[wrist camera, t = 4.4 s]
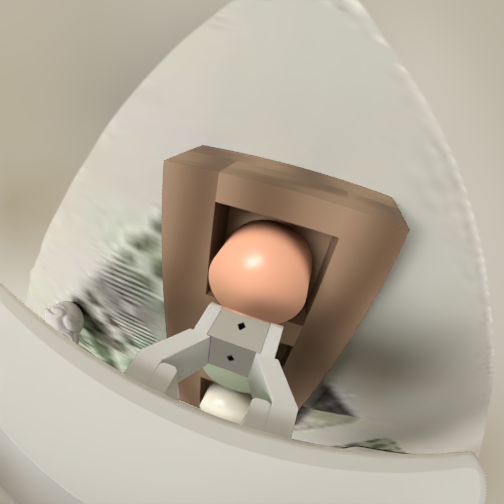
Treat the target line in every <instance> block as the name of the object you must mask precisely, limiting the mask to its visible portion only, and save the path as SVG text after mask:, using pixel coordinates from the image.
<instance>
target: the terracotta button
mask: <svg viewBox="0 0 504 504" xmlns="http://www.w3.org/2000/svg"><path fill="white" fill-rule="evenodd" d="M311 271H312V255H311V251H310V249H309V246H308V245H307V243H306V241H305V240H304V238H303V237H302V236H301V235H300V234H299V233H298V232H297V231H295V230H294V229H293V228H291V227H290V226H288V225H286V224H284V223H281V222H278V221H274V220H266V219H261V220H253V221H250V222H247V223H245V224H243V225H241V226H240V227H238V228H237V229H236V230H235V231H234V232H233V234H232V235H231V236H230V238H229V239H228V240H227V241H226V243H225V244H224V245H223V247H222V248H221V249H220V251H219V252H218V253H217V255H216V256H215V257H214V259H213V261H212V262H211V265H210V268H209V284H210V287H211V290H212V292H213V294H214V296H215V298H216V299H217V300H218V302H219V303H220V304H221V305H222V306H223V307H227V308H229V309H232V310H235V311H237V312H240V313H243V314H245V315H249V316H252V317H255V318H259V319H262V320H265V321H268V322H271V323H274V324H279V323H283V322H285V321H288V320H290V319H292V318H293V317H294V316H296V315H297V314H298V313H299V312H300V311H301V309H302V308H303V306H304V304H305V301H306V298H307V292H308V287H309V282H310V276H311Z"/></svg>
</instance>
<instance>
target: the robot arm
mask: <svg viewBox="0 0 504 504" xmlns="http://www.w3.org/2000/svg"><path fill="white" fill-rule="evenodd" d="M282 332H283V326H281V325H278V324H274V323H271V322H268V321H265V320H262V319H259V318H255V317H252V316H249V315H245V314H243V313H240V312H237V311H235V310H232V309H229V308H227V307H223V306H221V305H218V304H216V303H213V302H211V303H210V304H209V305H208V307H207V309H206V310H205V312H204V313H203V315H202V317H201V318H200V320H199V322H198V323H197V325H196V326H195V328H194V330H193V329H188V330H185V331H183V332H181V333H179V334H176V335H174V336H172V337H169V338H167V339H164V340H162V341H160V342H157V343H155V344H153V345H150V346H148V347H145V348H143V349H141V350H140V351H139V352H138V354H137V355H136V356H135V358H134V359H133V361H132V362H131V363H130V365H129V366H128V368H127V369H126V370H125V372H124V373H122V372H120V371H119V370H117V369H115V368H113V367H112V366H110V365H108V364H107V363H105V362H103V361H102V360H100V359H99V358H97V357H95V356H94V355H92V354H91V353H89V352H88V351H86V350H85V349H83V348H82V347H80V346H79V345H77V344H76V343H74V342H73V341H71V340H70V339H68V338H67V337H66V336H64V335H63V334H62V333H60V332H59V331H57V330H56V329H55V328H53V327H52V326H51V325H50V324H48V323H47V322H46V321H44V320H43V319H42V318H41V317H39V316H38V315H37V314H36V313H35V312H33V311H32V310H31V309H30V308H29V307H27V306H26V305H25V304H24V303H23V302H22V301H21V300H19V299H18V298H17V297H16V296H15V295H14V294H13V293H12V292H11V291H9V289H8V288H6V287H5V286H4V285H3V284H1V283H0V504H485V503H486V492H487V476H486V472H485V470H484V468H483V466H482V464H481V463H480V461H479V459H478V458H477V456H476V455H475V454H474V453H473V452H456V453H440V454H401V453H393V452H387V451H380V450H374V449H369V448H364V447H349V448H344V449H343V448H336V447H330V446H324V445H318V444H313V443H308V442H303V441H299V440H294V439H291V436H292V432H293V428H294V424H295V420H296V416H297V412H298V407H297V405H296V402H295V400H294V397H293V395H292V392H291V390H290V387H289V385H288V382H287V380H286V377H285V375H284V372H283V370H282V367H281V365H280V362H279V360H278V359H275V356H276V353H277V349H278V346H279V342H280V339H281V335H282ZM208 364H211V365H214V366H217V367H220V368H223V369H226V370H229V371H231V372H234V373H236V374H239V375H242V376H245V377H247V379H248V383H249V387H250V391H251V395H252V401H251V403H250V405H249V407H248V410H247V412H246V414H245V416H244V418H243V420H242V422H241V425H240V424H237V423H234V422H231V421H228V420H226V419H223V418H220V417H217V416H215V415H212V414H209V413H207V412H204V411H202V410H199V409H197V408H194V407H192V406H189V405H187V404H185V403H182V402H180V401H179V399H180V398H179V387H178V382H180V381H181V380H183V379H185V378H186V377H188V376H190V375H191V374H193V373H195V372H196V371H198V370H199V369H201V368H203V367H204V366H206V365H208Z"/></svg>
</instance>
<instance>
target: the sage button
mask: <svg viewBox="0 0 504 504" xmlns="http://www.w3.org/2000/svg"><path fill="white" fill-rule="evenodd" d="M277 354H278V352H277V353H276V356H275V359H276V358H277ZM203 369H204V371H205V372H206V373H207V375H208V376H209V377H210V378H211V379H213V380H214V381H215V382H217V383H218V384H220V385H222V386H224V387H226V388H229V389H231V390H234V391H238V392H244V393H251V391H250V387H249V383H248V379H247V377H245V376H242V375H239V374H236V373H234V372H231V371H229V370H226V369H223V368H220V367H217V366H214V365H211V364H208V365H206V366H204V367H203Z"/></svg>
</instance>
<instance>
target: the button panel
mask: <svg viewBox="0 0 504 504" xmlns="http://www.w3.org/2000/svg"><path fill="white" fill-rule="evenodd" d="M261 219H266V220H274V221H278V222H281V223H284V224H286V225H288V226H290V227H291V228H293V229H294V230H295V231H297V232H298V233H299V234H300V235H301V236H302V237H303V238H304V240H305V241H306V243H307V245H308V246H309V249H310V251H311V255H312V271H311V276H310V282H309V287H308V292H307V298H306V301H305V304H304V306H303V308H302V309H301V311H300V312H299V313H298V314H297V315H296V316H294V317H293V318H292V319H290V320H288V321H285V322H283V323H279V324H278V325H281V326H283V332H282V335H281V339H280V342H279V346H278V349H277V352H278V354H277V358H276V359H278V360H279V362H280V365H281V367H282V370H283V372H284V375H285V377H286V380H287V382H288V385H289V387H290V390H291V392H292V395H293V397H294V400H295V402H296V405H297V407H298V410H299V409H300V408H301V406H302V405H303V404H304V403H305V401H306V400H307V399H308V398H309V396H310V395H311V394H312V392H313V391H314V390H315V389H316V387H317V386H318V385H319V383H320V382H321V381H322V379H323V378H324V376H325V375H326V374H327V372H328V371H329V370H330V368H331V367H332V365H333V364H334V362H335V361H336V360H337V358H338V357H339V355H340V354H341V352H342V351H343V349H344V348H345V346H346V345H347V343H348V342H349V340H350V339H351V337H352V335H353V334H354V332H355V331H356V329H357V327H358V326H359V324H360V323H361V321H362V319H363V318H364V316H365V314H366V313H367V311H368V309H369V308H370V306H371V304H372V302H373V301H374V299H375V297H376V295H377V294H378V292H379V290H380V288H381V286H382V284H383V283H384V281H385V279H386V277H387V275H388V273H389V271H390V269H391V267H392V265H393V263H394V261H395V259H396V257H397V255H398V253H399V251H400V249H401V247H402V245H403V243H404V241H405V238H406V236H407V234H408V232H409V228H408V226H407V224H406V222H405V220H404V218H403V216H402V214H401V213H400V211H399V209H398V207H397V205H396V204H395V202H394V200H393V198H392V197H390V196H387V195H384V194H382V193H379V192H376V191H373V190H370V189H367V188H365V187H362V186H359V185H356V184H353V183H350V182H347V181H344V180H340V179H337V178H334V177H331V176H328V175H324V174H321V173H318V172H314V171H311V170H307V169H304V168H300V167H296V166H293V165H289V164H285V163H281V162H277V161H273V160H269V159H265V158H261V157H257V156H253V155H248V154H244V153H239V152H234V151H230V150H225V149H220V148H215V147H209V146H204V145H202V146H200V147H197V148H194V149H192V150H189V151H187V152H184V153H181V154H179V155H176V156H174V157H172V158H169V159H167V160H164V166H163V188H162V271H163V293H164V309H165V322H166V333H167V338H169V337H172V336H174V335H176V334H179V333H181V332H183V331H185V330H188V329H193V330H194V328H195V326H196V325H197V323H198V322H199V320H200V318H201V317H202V315H203V313H204V312H205V310H206V309H207V307H208V305H209V304H210V303H211V302H213V303H216V304H218V305H221V304H220V303H219V302H218V300H217V299H216V298H215V296H214V294H213V292H212V290H211V287H210V284H209V268H210V265H211V262H212V261H213V259H214V257H215V256H216V255H217V253H218V252H219V251H220V249H221V248H222V247H223V245H224V244H225V243H226V241H227V240H228V239H229V238H230V236H231V235H232V234H233V232H234V231H235V230H236V229H237V228H238V227H240V226H241V225H243V224H245V223H247V222H250V221H253V220H261ZM221 306H222V305H221ZM212 381H213V382H215V381H214V380H213V379H211V378H210V377H209V376H208V375H207V373H206V372H205V371H204V369H203V368H201V369H199V370H198V371H196V372H195V373H193V374H191V375H190V376H188V377H186V378H185V379H183V380H181V381H180V382H178V387H179V398H180V399H179V400H181V401H183V402H186V403H188V404H190V405H193V406H195V407H198V408H200V404H201V402H202V400H203V397H204V395H205V393H206V391H207V389H208V387H209V385H210V383H211V382H212ZM216 383H217V382H216ZM248 394H251V393H248ZM200 409H201V408H200Z"/></svg>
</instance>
